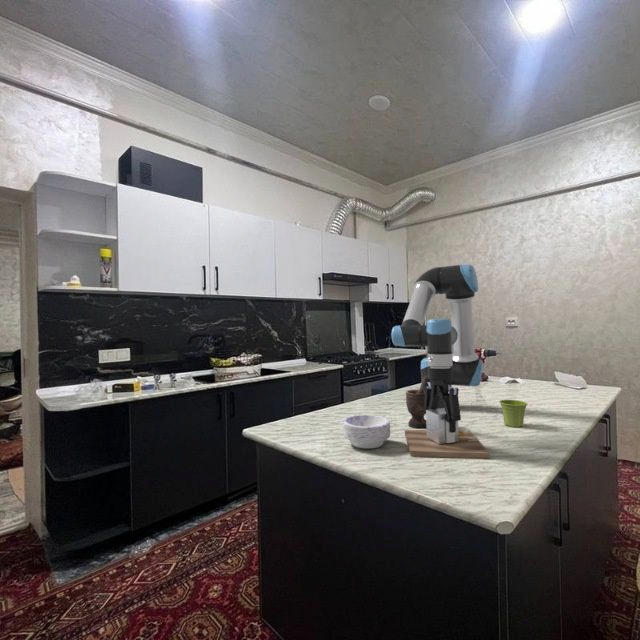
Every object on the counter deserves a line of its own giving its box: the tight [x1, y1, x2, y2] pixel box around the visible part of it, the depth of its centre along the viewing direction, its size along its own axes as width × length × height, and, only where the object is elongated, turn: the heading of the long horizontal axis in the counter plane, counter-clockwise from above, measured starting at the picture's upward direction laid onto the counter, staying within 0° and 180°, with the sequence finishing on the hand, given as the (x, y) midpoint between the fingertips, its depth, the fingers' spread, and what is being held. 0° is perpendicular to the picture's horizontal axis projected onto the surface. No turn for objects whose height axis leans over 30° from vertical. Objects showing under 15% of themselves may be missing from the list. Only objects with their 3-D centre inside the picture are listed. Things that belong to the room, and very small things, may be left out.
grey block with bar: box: [425, 408, 464, 444], centre depth 118 cm, size 11×7×9 cm, turn 105°
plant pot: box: [499, 399, 528, 428], centre depth 138 cm, size 9×9×9 cm
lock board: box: [404, 429, 490, 460], centre depth 118 cm, size 22×22×2 cm
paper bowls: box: [342, 414, 391, 450], centre depth 121 cm, size 15×15×8 cm
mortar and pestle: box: [405, 375, 431, 429], centre depth 139 cm, size 12×9×20 cm
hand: (441, 438), depth 118 cm, fingers closed on grey block with bar, 7 cm apart
